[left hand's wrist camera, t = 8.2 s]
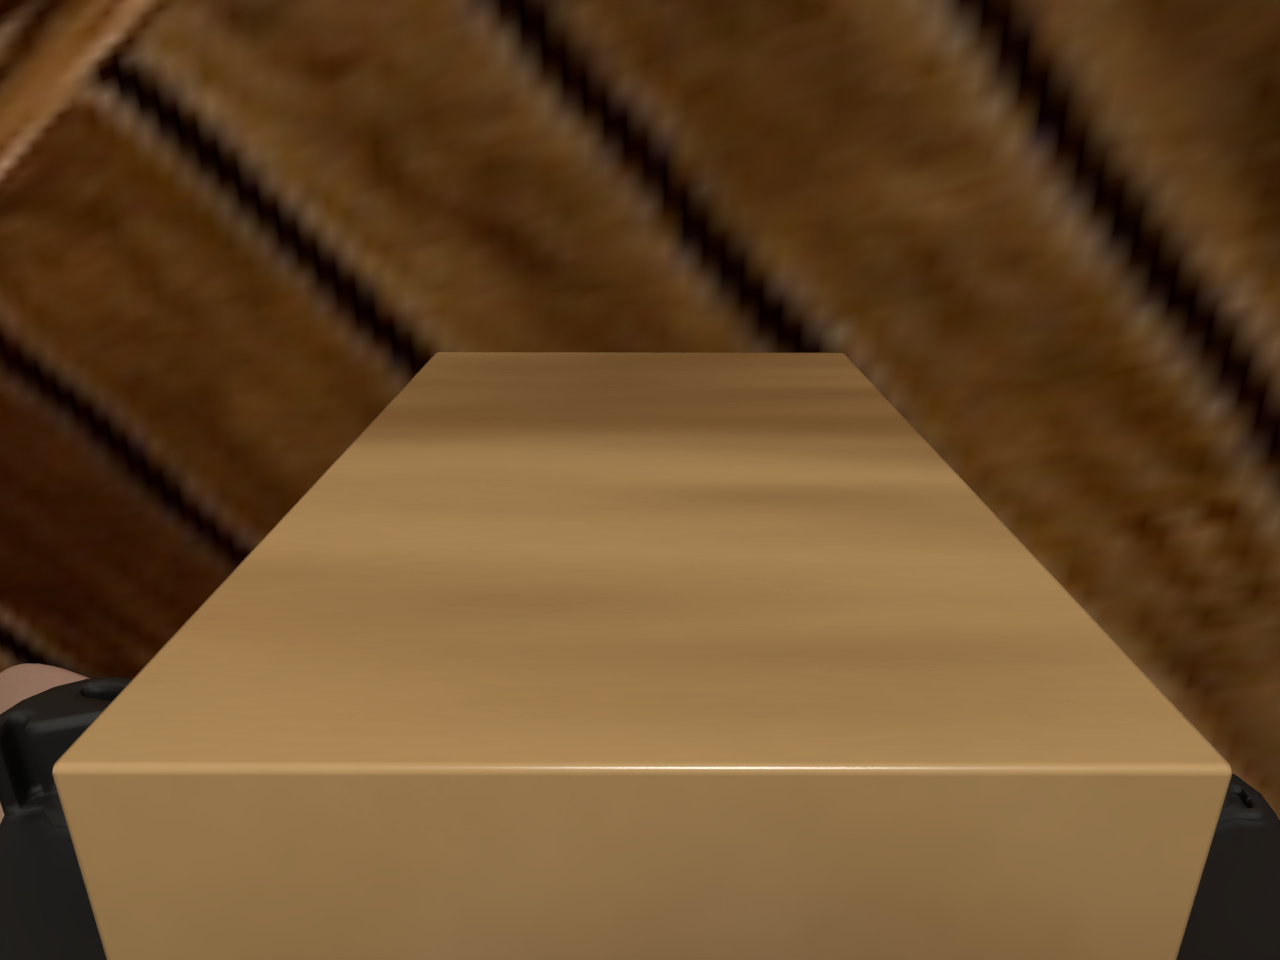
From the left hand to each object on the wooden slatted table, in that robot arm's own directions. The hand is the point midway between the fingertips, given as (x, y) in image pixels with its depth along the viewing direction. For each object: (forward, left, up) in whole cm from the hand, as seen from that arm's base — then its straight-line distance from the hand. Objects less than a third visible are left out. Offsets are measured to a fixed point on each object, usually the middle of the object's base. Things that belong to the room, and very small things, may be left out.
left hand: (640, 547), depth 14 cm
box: (-5, +5, -1) cm, 8 cm away
